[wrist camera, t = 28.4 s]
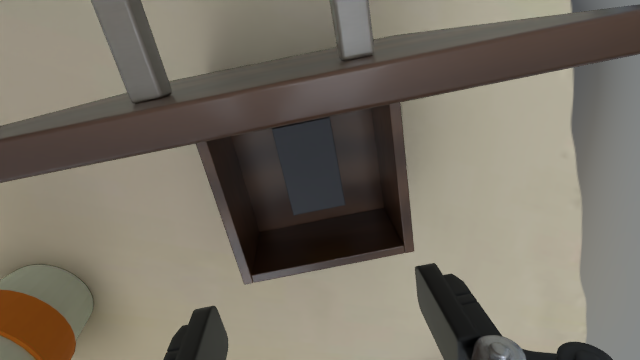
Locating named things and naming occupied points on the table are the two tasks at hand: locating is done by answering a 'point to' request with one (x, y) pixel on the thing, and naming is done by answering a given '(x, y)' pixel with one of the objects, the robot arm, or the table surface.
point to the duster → (309, 165)
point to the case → (323, 225)
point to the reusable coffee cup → (42, 313)
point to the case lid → (298, 81)
